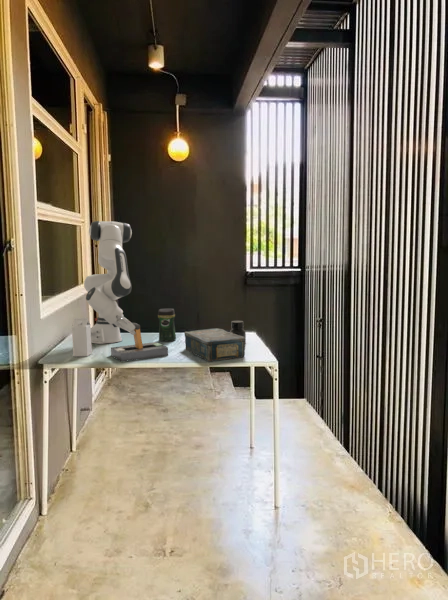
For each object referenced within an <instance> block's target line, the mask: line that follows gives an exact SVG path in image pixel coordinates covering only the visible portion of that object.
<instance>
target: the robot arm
mask: <svg viewBox="0 0 448 600" xmlns="http://www.w3.org/2000/svg"><path fill="white" fill-rule="evenodd" d="M132 231H133V230H132V228H131V225H130V224H129V223H126V222H120V221H119V222H118V221H112V220H111V221H107V220H105V221H103V220H102V221H99V220H97V221H96V220H95V221H92V222H91V224H90V226H89V229H88V233H89V236H90V239H91V240H93V241H96V242H98V241H99V243H98V258H97V262H98V265H99V266H100V267H102V268H103V269H105V270H106V272H107V273H99V274H98V273H96V274H91V275H87V276H86V277H85V278H84V282H83V285H84V290H85V291H86V292H87V294H86V296H85V300H86V303H87V304H88V305H89V306H90V307H91V308H92V309H93V310H94V311H95V312H96V313H97V314H98V317H97V318H96V317H95V319H94V321H96V323H95V324H94V325H92V326H91V344H98V345H102V344H103V345H104V344H112V343H113V344H114V343H118V342H121V341H123V339H122V336H121V330H120V329H122V330H124V331H127V332H129V334H131V335H133V336H134V334H135V333H136V332H135V331H134V329H135V326H134V325H133V324H132V323H133V322H131V321H130V320H129V319H127V318H126V317H125V316H124V314H123V313H124V311H123V309H122V308H121V307H120V306H119V304H118V302H117V300H118V299H121V298H123V297H126V296H129V294H131V292H132V288H133V287H132V281H131V279H130V274H129V268H128V267H129V266H128V258H127V255H126V252H125V250H124V249H123V244H124V243H128V242H130V240H131V238H132V234H133V232H132Z"/></svg>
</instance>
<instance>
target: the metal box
mask: <svg viewBox="0 0 448 600" xmlns="http://www.w3.org/2000/svg"><path fill="white" fill-rule="evenodd" d="M184 337H185V339H184V340H185V341H184V343H185V344H184V345H185V350H186V351H188V352H190V353H192V354H194V355H196V356H197V357H199V358H201V359H203V360H204V361H207V362H209V363H210V362H214V360H217V361H225V360H233V359H239V357H240V358H243V357H245V355H246V342H245V338H244V337H243V336H239V335H236V334H233V333H232V332H230V331H227V330H225V329H223V328H217V327H216V328H207V329H198V330H197V329H196V330H190V331H184ZM232 358H233V359H232ZM224 359H225V360H224Z"/></svg>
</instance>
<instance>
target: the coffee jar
mask: <svg viewBox="0 0 448 600" xmlns="http://www.w3.org/2000/svg"><path fill="white" fill-rule="evenodd" d="M157 312H158V313H157V318H158V322H159V325H158V326H159V329H158V341H160V342H172V341H176V339H177V337H176V336H177V335H176V334H177V333H176V327H175V318H176V313H175V308H160V309H158V311H157Z"/></svg>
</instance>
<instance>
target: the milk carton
mask: <svg viewBox="0 0 448 600" xmlns="http://www.w3.org/2000/svg"><path fill="white" fill-rule="evenodd" d="M91 328H92V326H91V322H90V321H89V318H88V317H73V322H72V326H71V333H72V350H73V351H72V352H73V353H72V354H73V357H88V356H90V355H91V354H92V353H93V351H92V343H91Z"/></svg>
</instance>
